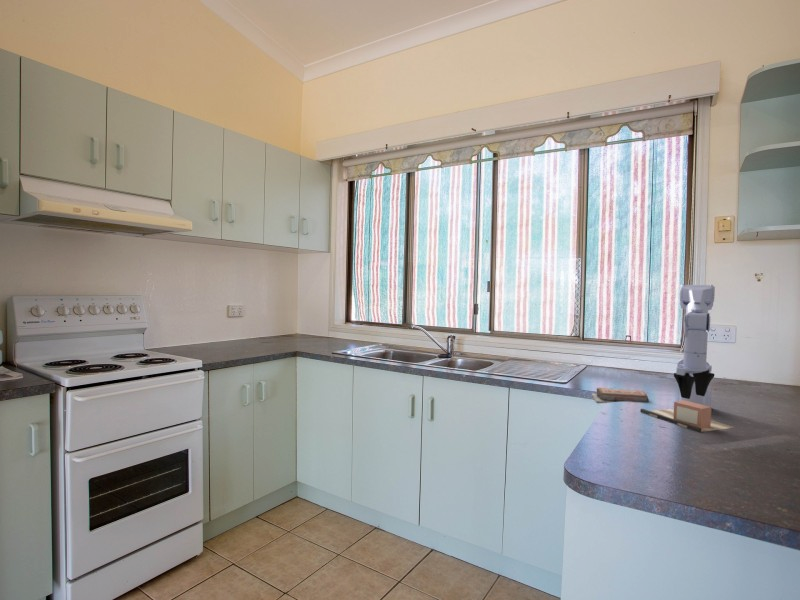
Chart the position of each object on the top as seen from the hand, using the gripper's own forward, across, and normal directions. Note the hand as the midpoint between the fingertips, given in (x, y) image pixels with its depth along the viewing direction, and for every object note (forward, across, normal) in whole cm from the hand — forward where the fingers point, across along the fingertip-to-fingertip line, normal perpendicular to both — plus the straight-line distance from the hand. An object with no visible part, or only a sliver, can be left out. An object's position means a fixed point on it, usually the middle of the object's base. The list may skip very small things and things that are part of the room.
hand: (693, 396), depth 133 cm
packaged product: (+11, -7, -30) cm, 32 cm away
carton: (+8, 0, 0) cm, 8 cm away
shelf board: (+10, -4, -4) cm, 11 cm away
